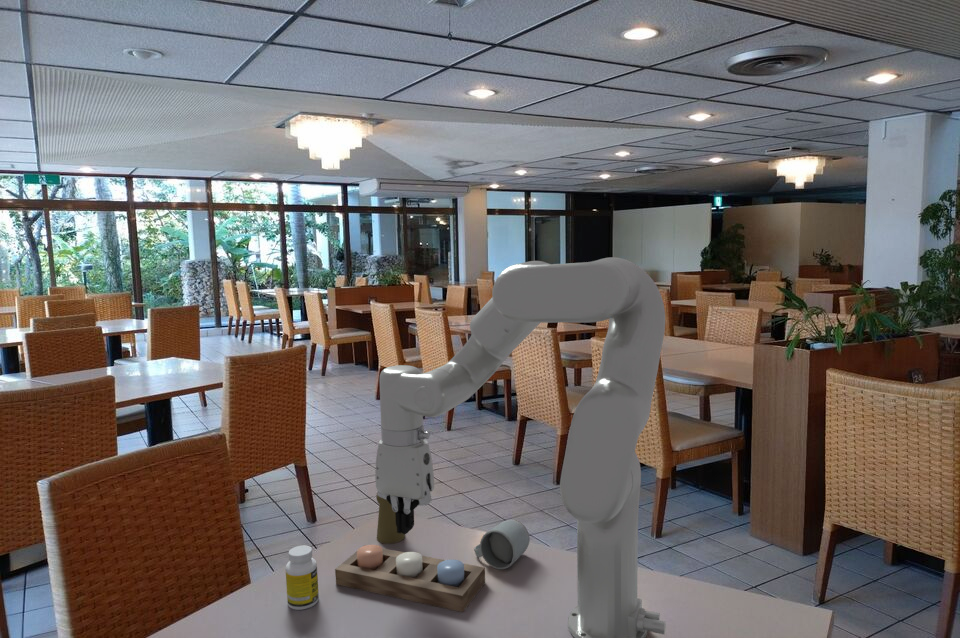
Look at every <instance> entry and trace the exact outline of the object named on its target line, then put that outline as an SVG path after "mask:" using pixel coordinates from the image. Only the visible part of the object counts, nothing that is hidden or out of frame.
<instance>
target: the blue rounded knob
mask: <svg viewBox="0 0 960 638" xmlns="http://www.w3.org/2000/svg"><path fill="white" fill-rule="evenodd" d="M444 560H445V561H442V562H440V563H439V564H438V566H437V572H438V583H439V584H444V585H449V586H454V587H459V586H460V585H461V584H462V583H463V581H464V564H465V563H463V562H462V561H461V560H459V559H444Z"/></svg>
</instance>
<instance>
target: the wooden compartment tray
mask: <svg viewBox="0 0 960 638" xmlns="http://www.w3.org/2000/svg"><path fill="white" fill-rule="evenodd" d="M366 545H367V544H364V545H363V546H366ZM382 549H383V564H381V565H380V566H379V567H378V568H377V569H376V570H371V569H366V568H361V567H358V562H357V551H356V552H355V551H354V553H353V554H352V555H350V557H348V558H347V559H345V560H344V561H343V562H342V563H340V564H339V566H337V567H336V568H335V569H334V573H335V576H334V577H335V584H336V585H338V586H342V587H343V586H344V587H348V588H352V589H356V590H360V591H365V592H370V593H374V594H379V595H383V596H388V597H393V598H398V599H401V600H404V601H405V600H406V601H411V602H415V603H419V604H424V605H428V606H433V607H438V608H443V609H447V610H452V611H456V612H461V613H464V611H466V609H467V607H468V606H469V605H470V603H471V602H472V601H473V599H475V597H476V595H478V592H479V591H480V590H481V589H482V588H483V586H484V585H485V583H486V570H485V569H486V568H485V567H484V566H479V565H473V564H469V563H463V564H464V581H463V583H462V584H461V585H460V586H459V587H454V586H449V585H444V584H439V583H438V572H437V566H438V564H439V563H440V562H442V561H445V560H446V559H441V558H436V557H431V556H426V555H422V566H423V572H422V573H421V574H420V575H419V576H418V577H417V578H416V579H415V578H410V577H405V576H400V575H397V569H396V558H397V556H398V555H400V554H402V553H405V552H404V551H401V550H400V551H399V550H394V549H387V548H382Z"/></svg>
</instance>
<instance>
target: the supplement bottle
mask: <svg viewBox="0 0 960 638" xmlns="http://www.w3.org/2000/svg"><path fill="white" fill-rule="evenodd" d="M317 565H318V563H317V561H316V559H315V558H313V548H312V547H311V546H309V545H304V544H303V545H297V546H294V547H292V548H291V549H289V550H288V562H287V563H286V565H285V581H286V599H287V606H288V607H289V608H291V609H293V610H294V611H295V610H296V611H300V610H306V609H311V608H313V606H315V605H317V603H318V601H319V596H320V595H319V577H318V576H319V574H318V566H317Z"/></svg>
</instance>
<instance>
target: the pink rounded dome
mask: <svg viewBox="0 0 960 638" xmlns="http://www.w3.org/2000/svg"><path fill="white" fill-rule="evenodd" d="M365 545H366V546H364V545H363V546H361V547H359V548H358V549H357V551H356V552H357V562H358V567H361V568H366V569H371V570H376V569H377V568H378V567H379V566H380V565H381V564H383V549H382V546H381V545H378V544H365Z"/></svg>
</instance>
